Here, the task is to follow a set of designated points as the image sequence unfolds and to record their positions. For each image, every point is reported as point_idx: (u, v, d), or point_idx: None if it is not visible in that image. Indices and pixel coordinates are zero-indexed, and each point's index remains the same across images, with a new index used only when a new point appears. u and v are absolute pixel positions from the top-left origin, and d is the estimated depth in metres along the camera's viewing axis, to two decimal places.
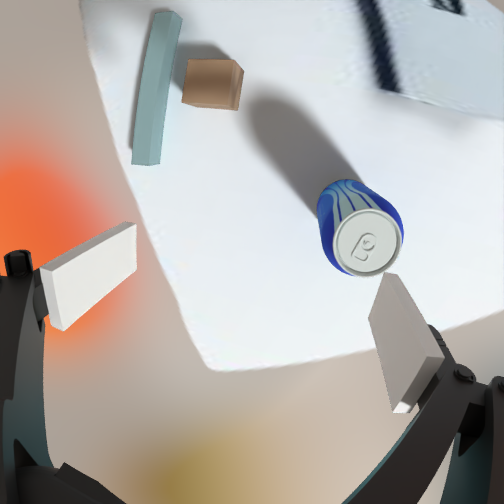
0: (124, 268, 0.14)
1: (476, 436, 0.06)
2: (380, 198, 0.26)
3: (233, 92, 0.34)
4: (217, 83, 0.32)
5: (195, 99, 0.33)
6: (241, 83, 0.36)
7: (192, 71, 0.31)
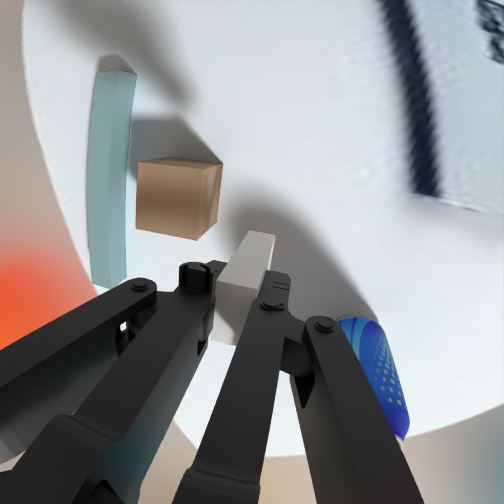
0: None
1: None
2: (389, 408, 0.18)
3: (206, 212, 0.26)
4: (181, 207, 0.24)
5: (153, 227, 0.25)
6: (219, 184, 0.28)
7: (145, 182, 0.24)
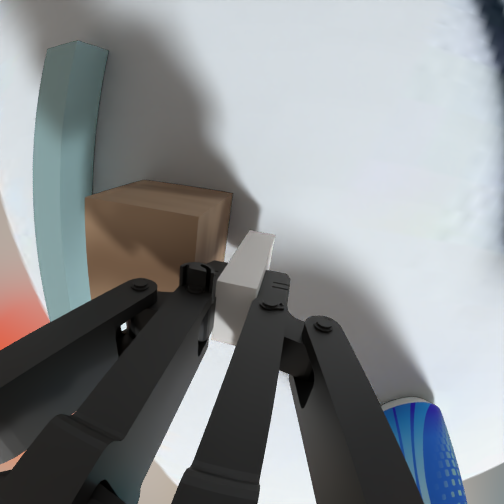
0: None
1: None
2: None
3: None
4: (160, 281, 0.13)
5: None
6: (226, 227, 0.18)
7: (98, 234, 0.13)
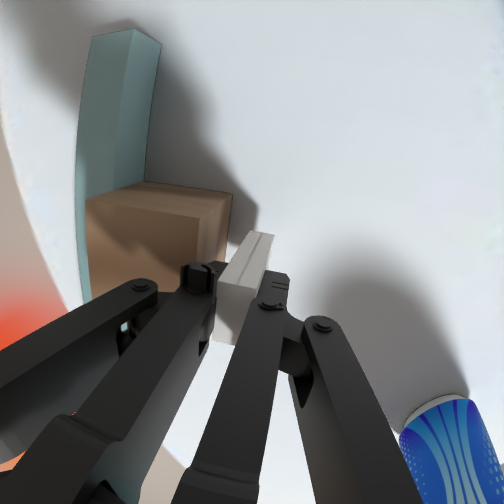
0: None
1: None
2: None
3: None
4: (161, 283, 0.13)
5: None
6: (227, 228, 0.18)
7: (98, 236, 0.13)
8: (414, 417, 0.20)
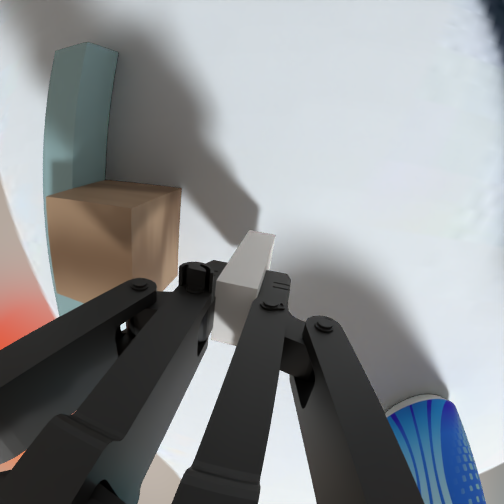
0: None
1: None
2: None
3: (151, 271, 0.16)
4: (106, 269, 0.14)
5: (77, 294, 0.15)
6: (177, 220, 0.18)
7: (57, 228, 0.14)
8: None
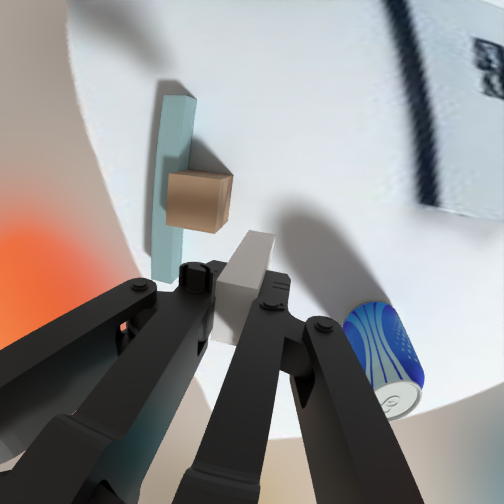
0: None
1: None
2: (409, 362, 0.25)
3: (221, 212, 0.34)
4: (203, 208, 0.32)
5: (180, 224, 0.33)
6: (230, 191, 0.36)
7: (174, 189, 0.32)
8: (349, 314, 0.38)
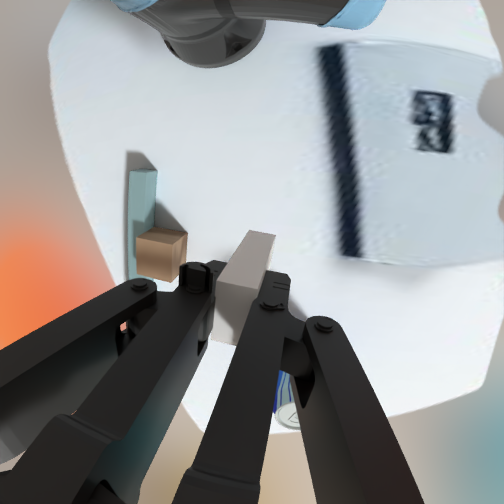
0: None
1: None
2: None
3: (176, 265, 0.44)
4: (161, 264, 0.42)
5: (147, 274, 0.43)
6: (186, 245, 0.47)
7: (141, 249, 0.42)
8: None
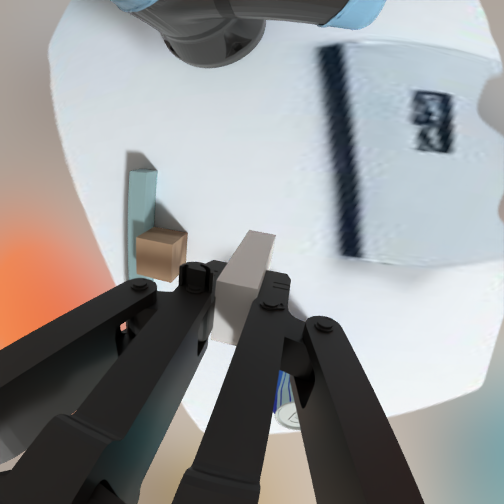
0: None
1: None
2: None
3: (176, 265, 0.44)
4: (161, 264, 0.42)
5: (147, 274, 0.43)
6: (186, 245, 0.47)
7: (141, 249, 0.42)
8: None
